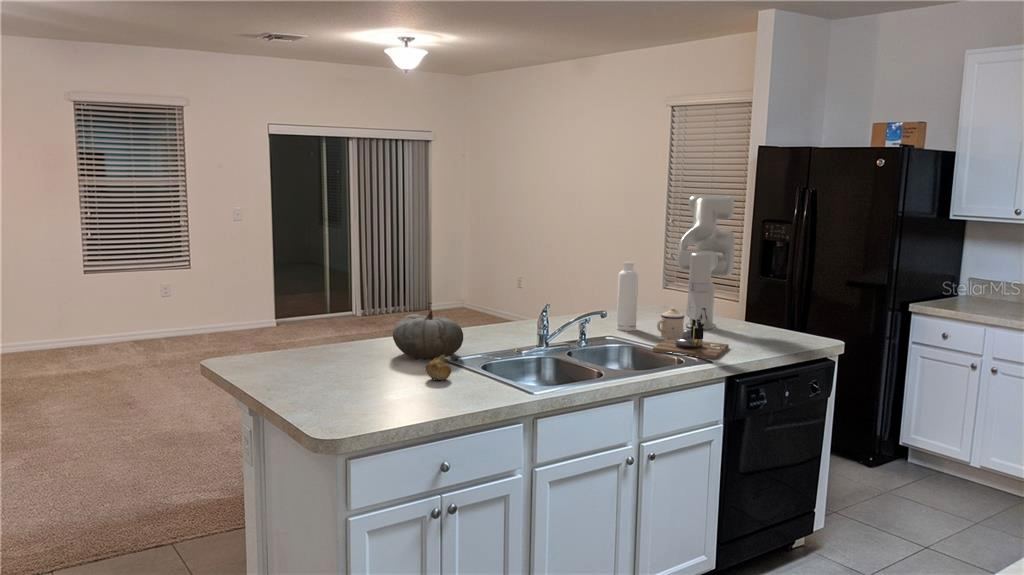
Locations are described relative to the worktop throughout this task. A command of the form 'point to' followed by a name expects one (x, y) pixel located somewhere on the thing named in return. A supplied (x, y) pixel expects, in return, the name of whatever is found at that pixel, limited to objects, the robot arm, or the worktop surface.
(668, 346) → the level stand
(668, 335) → the teacup with lid
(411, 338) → the gourd
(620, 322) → the bottle
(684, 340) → the capstan
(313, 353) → the worktop surface
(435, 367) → the onion
